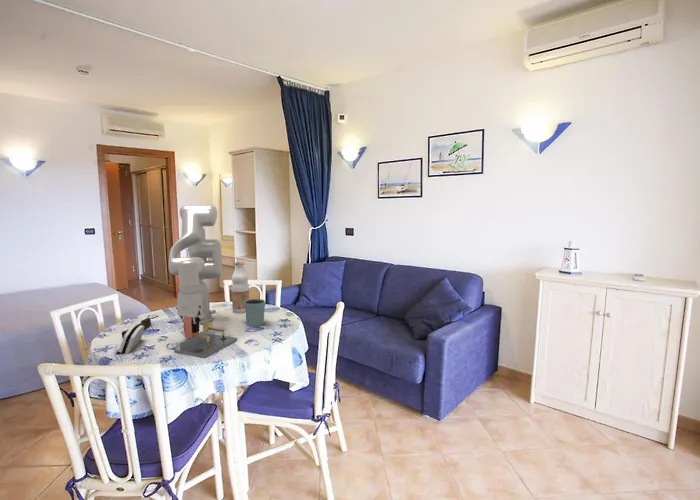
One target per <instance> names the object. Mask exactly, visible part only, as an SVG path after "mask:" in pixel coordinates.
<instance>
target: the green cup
mask: <svg viewBox="0 0 700 500" xmlns="http://www.w3.org/2000/svg"><path fill="white" fill-rule="evenodd" d="M244 304H245V312H244V313H245V320H246V321H245V326H246V327H248V326H249V328H258V326H259V327H261V325H262V326H264V322H265V311H266V310H265V307H266V300H264V299H261V298H251V299H250V298H249V300H246V301H245V302H244Z"/></svg>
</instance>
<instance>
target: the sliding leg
mask: <svg viewBox="0 0 700 500" xmlns="http://www.w3.org/2000/svg"><path fill="white" fill-rule="evenodd" d="M196 319H197V317H196ZM192 324H194V323H193V318H191V317H184V322H183V332H184V331H185V332H184V338H194V337H200V338H206V339H207V346H209V338H210V336H204V335H199V333H200V330H199V331H198V332H196V333H193V327H192Z"/></svg>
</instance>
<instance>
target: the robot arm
mask: <svg viewBox="0 0 700 500" xmlns="http://www.w3.org/2000/svg"><path fill="white" fill-rule="evenodd" d="M179 216H180V219H181V235H180V237H179V238H178V240H176V241H175V242H174V243H173V245H172V246H171V248H170V250H169V256H168V271H169V273H170V274H171V275H174V276H178V284H179V286H178V289H179V292H178V293H177V301H176V302H177V303H176V310H177V311H176V312H177V315H178V316H179V317H180V319H181V322H182V323H184V317H191V318H193V323H194V324H192V327H193V333H196V332H198V331H199V332H200V325H203V324H204V323H207V322H210V323H212V322H213V321H214V316H213V314H216V313H217V310H216V309H212V310H210V309H211V308H210V307H211V306H210V291H209V290H210V288H209V286H208V284H207V283H206V282H205V281H204V280H212V279H220V278H222V276H223V257H222V253H223V251H222V246H221V242H220V241H219V240H218V239H208V238H207V239H206V229H205V228H204V227H214V226H215V225H216V222H217V218H218V210H217V208H216V206H215V205H213V204H188V205H183V206H181V207H180V208H179ZM185 249H187V252H188V256H189V257H188V256H187V257H184V256H183V257H178V255H179V254H180V253H181V252H182V251H184V250H185ZM207 258H208V259H209V258H210V259H212V260H204V259H207ZM196 317H197V319H196ZM183 333H185V331H184V330H183Z"/></svg>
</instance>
